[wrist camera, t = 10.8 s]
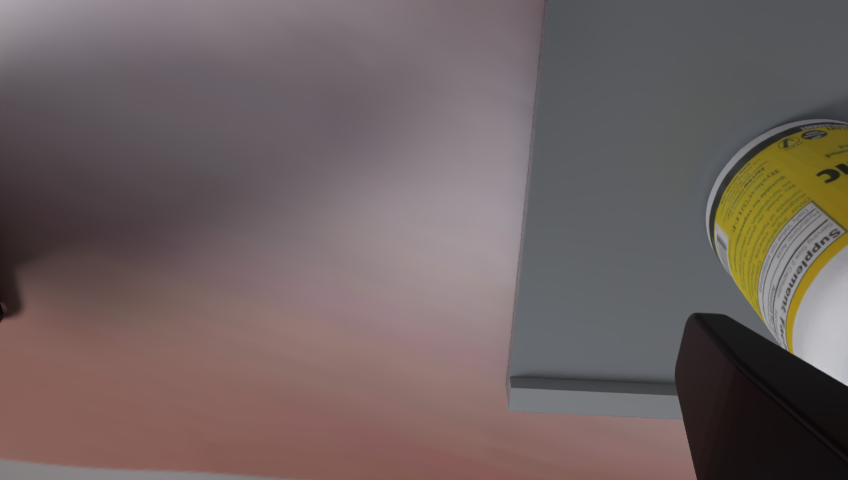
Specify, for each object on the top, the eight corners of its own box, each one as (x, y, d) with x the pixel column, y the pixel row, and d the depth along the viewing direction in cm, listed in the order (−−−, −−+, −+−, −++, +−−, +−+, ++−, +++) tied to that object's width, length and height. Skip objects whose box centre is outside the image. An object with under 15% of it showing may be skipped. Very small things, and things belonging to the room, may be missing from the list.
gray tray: (505, 385, 25) (508, 411, 24) (556, -109, 18) (563, -109, 17) (955, 406, 25) (981, 433, 24) (1187, -89, 18) (1242, -86, 17)
